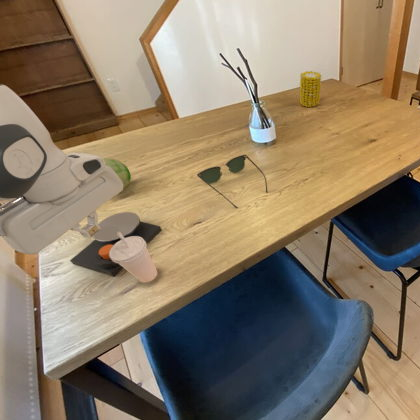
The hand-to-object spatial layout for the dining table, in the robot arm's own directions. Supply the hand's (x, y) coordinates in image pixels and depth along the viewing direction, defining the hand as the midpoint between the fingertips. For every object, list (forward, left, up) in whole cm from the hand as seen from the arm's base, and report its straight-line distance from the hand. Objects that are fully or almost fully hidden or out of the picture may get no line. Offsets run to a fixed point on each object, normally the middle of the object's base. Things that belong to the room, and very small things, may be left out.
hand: (92, 232), depth 57 cm
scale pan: (+7, +5, -7) cm, 11 cm away
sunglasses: (+33, -13, -10) cm, 37 cm away
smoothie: (-1, -10, -10) cm, 14 cm away
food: (+101, -13, -10) cm, 102 cm away
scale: (+4, +3, -10) cm, 11 cm away
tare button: (0, 0, -7) cm, 7 cm away
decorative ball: (+22, +22, -10) cm, 33 cm away
